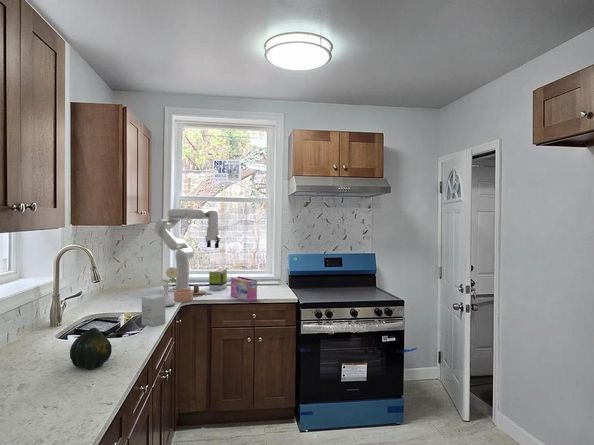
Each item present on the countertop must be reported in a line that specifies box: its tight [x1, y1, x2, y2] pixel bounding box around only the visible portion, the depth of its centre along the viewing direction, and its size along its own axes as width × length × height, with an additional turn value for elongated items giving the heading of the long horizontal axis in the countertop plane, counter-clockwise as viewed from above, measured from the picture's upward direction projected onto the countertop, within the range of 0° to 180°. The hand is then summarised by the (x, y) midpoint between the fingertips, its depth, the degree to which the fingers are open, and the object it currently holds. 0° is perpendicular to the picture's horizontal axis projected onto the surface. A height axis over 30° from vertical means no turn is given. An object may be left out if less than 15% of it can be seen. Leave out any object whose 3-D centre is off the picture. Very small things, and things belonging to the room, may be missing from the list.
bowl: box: [173, 288, 194, 302], centre depth 283 cm, size 12×12×6 cm
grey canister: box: [141, 294, 166, 328], centre depth 221 cm, size 9×9×15 cm
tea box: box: [208, 268, 228, 291], centre depth 326 cm, size 15×10×15 cm, turn 172°
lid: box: [192, 284, 207, 295], centre depth 302 cm, size 14×14×6 cm
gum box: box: [230, 276, 258, 302], centre depth 293 cm, size 24×8×14 cm, turn 41°
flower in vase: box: [162, 266, 178, 307], centre depth 264 cm, size 13×11×25 cm
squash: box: [69, 327, 113, 370], centre depth 161 cm, size 14×15×15 cm
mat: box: [193, 291, 213, 298], centre depth 302 cm, size 17×17×1 cm
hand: (212, 247), depth 316 cm, fingers open, 9 cm apart
